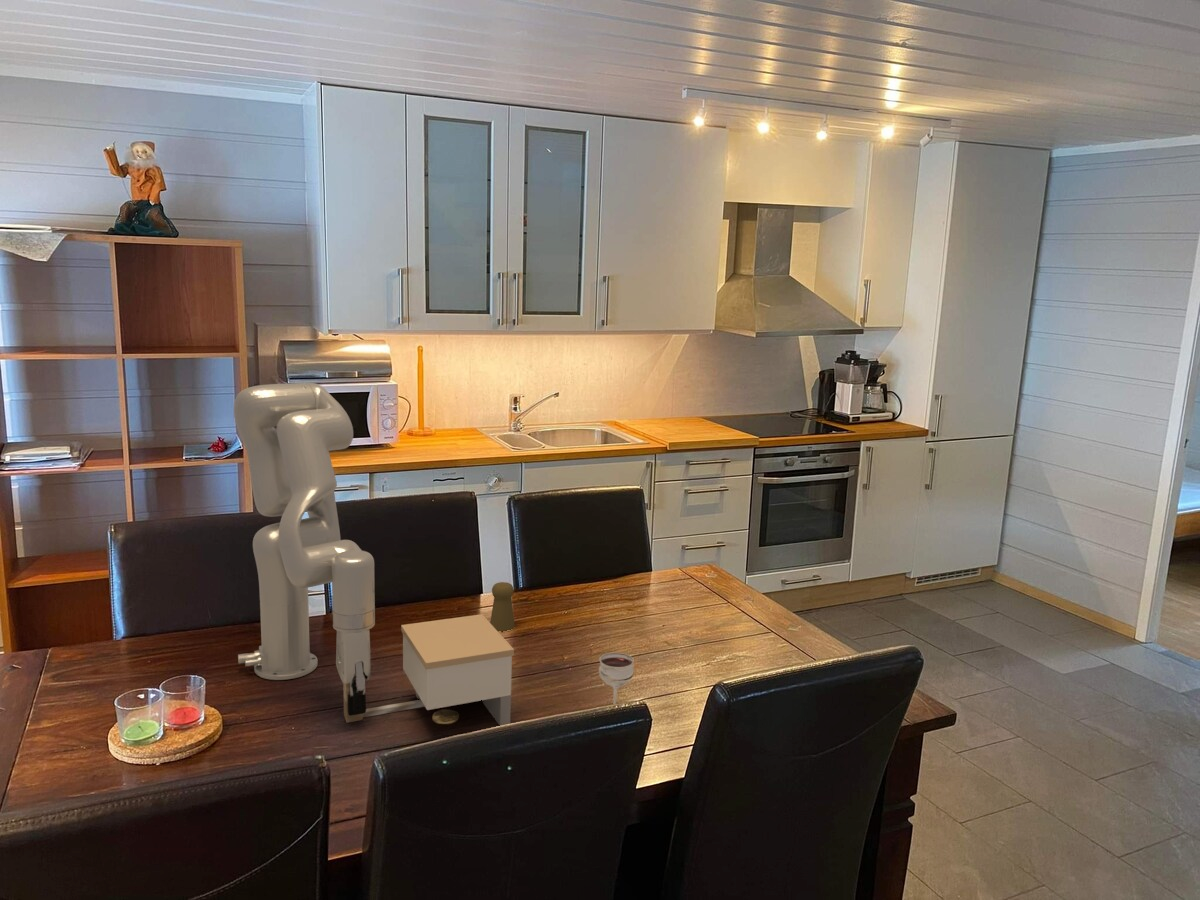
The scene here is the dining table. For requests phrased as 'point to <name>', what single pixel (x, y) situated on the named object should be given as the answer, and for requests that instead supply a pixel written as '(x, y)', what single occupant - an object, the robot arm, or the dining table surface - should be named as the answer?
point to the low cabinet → (459, 664)
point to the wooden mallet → (377, 709)
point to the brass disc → (445, 716)
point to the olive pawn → (502, 607)
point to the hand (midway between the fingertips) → (355, 708)
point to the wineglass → (616, 670)
